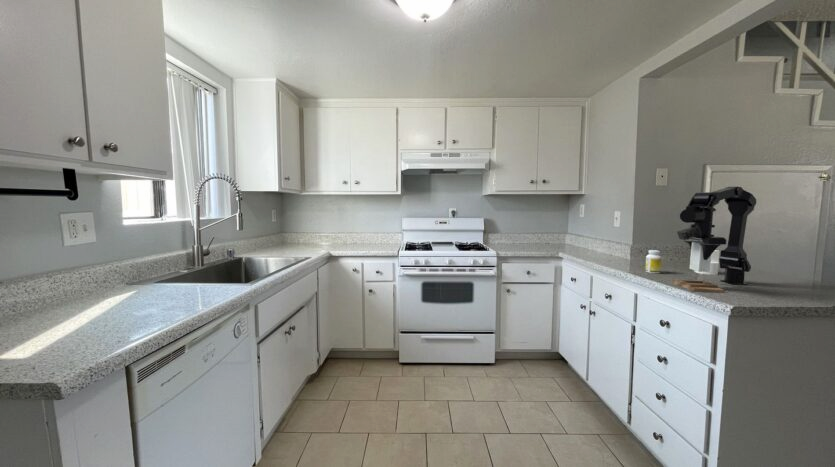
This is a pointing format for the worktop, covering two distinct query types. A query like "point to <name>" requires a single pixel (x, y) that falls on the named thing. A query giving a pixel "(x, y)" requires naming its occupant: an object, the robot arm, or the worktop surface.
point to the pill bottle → (653, 262)
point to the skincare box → (699, 258)
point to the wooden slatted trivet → (699, 286)
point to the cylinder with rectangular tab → (712, 264)
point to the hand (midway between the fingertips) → (699, 258)
